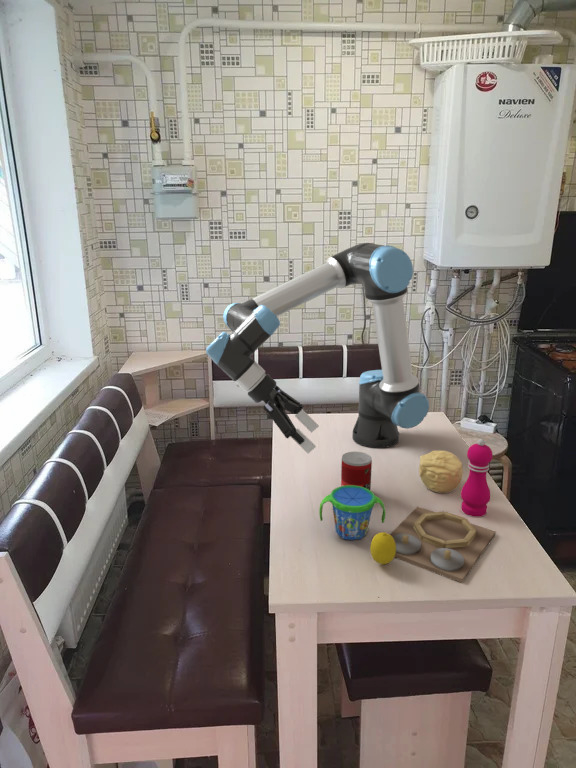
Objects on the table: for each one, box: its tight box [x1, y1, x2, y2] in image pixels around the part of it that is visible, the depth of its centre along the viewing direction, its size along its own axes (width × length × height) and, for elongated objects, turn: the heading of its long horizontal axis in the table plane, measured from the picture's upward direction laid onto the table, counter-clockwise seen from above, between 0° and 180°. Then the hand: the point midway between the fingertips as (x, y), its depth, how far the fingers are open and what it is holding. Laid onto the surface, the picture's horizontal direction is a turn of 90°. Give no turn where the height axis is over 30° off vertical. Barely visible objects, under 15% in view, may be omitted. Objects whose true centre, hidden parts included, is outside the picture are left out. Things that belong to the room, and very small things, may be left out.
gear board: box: [389, 506, 497, 584], centre depth 138 cm, size 22×20×4 cm
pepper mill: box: [460, 438, 494, 518], centre depth 148 cm, size 7×7×20 cm
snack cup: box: [318, 485, 386, 541], centre depth 141 cm, size 16×10×10 cm
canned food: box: [340, 451, 373, 491], centre depth 158 cm, size 8×8×11 cm
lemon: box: [369, 531, 396, 566], centre depth 129 cm, size 6×6×8 cm
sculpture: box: [418, 450, 464, 494], centre depth 162 cm, size 11×12×11 cm
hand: (313, 439), depth 156 cm, fingers open, 13 cm apart
